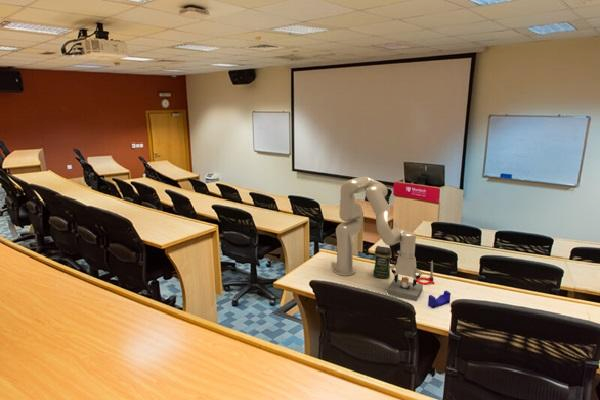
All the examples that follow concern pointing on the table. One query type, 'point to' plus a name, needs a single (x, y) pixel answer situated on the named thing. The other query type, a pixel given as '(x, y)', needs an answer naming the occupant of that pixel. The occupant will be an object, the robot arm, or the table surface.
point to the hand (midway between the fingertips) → (405, 283)
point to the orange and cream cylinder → (405, 283)
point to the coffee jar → (382, 262)
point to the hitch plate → (403, 293)
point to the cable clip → (439, 300)
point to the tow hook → (427, 278)
